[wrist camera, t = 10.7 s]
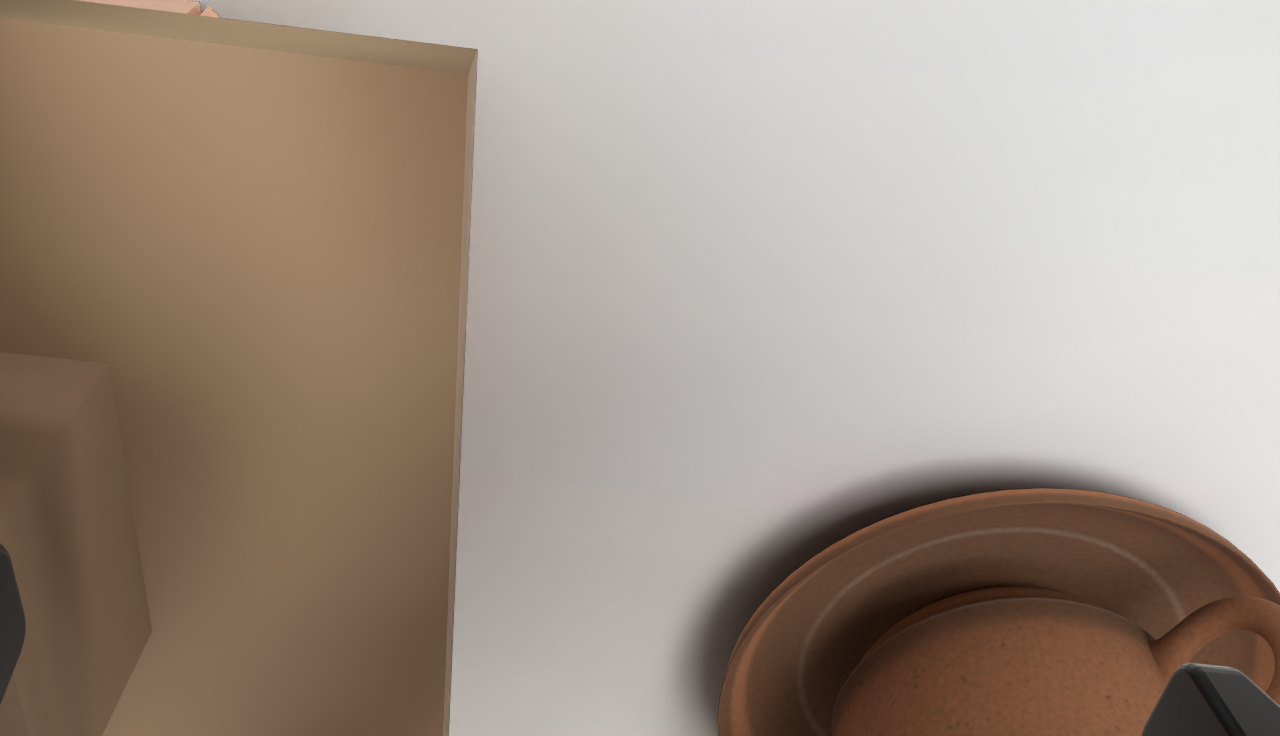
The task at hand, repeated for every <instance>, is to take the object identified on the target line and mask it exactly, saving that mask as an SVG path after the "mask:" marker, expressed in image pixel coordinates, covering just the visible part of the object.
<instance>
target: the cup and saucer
mask: <svg viewBox="0 0 1280 736" xmlns="http://www.w3.org/2000/svg"><path fill="white" fill-rule="evenodd" d="M1186 663H1197V664H1207V665H1217V666H1226V667H1231V668H1234V669H1237V670H1238V671H1240V672H1242V673H1243V674H1244V675H1246V676H1247V677H1248V678H1249V679H1250V680H1251V681H1253V682H1254V683H1255V684H1256V685H1257V686H1258V687H1259V688H1260V689H1261V690H1263V691H1264V692H1265V693H1266V694H1267V695H1268V696H1269V697H1270V698H1271V699H1272V700H1274V701H1275V702H1276V703H1277V704H1278V705H1279V706H1280V593H1279V591H1278V590H1277V588H1276V587H1275V586H1274V584H1273V583H1272V582H1271V581H1270V579H1269V578H1268V577H1267V576H1266V575H1265V574H1264V573H1263V572H1262V571H1261V570H1260V569H1259V568H1258V566H1257V565H1256V564H1255V563H1254V562H1253V561H1252V560H1251V559H1250V558H1248V557H1247V556H1246V555H1245V554H1244V553H1243V552H1241V551H1240V550H1239V549H1238V548H1236V547H1235V546H1234V545H1233V544H1232V543H1230V542H1229V541H1228V540H1226V539H1225V538H1223V537H1222V536H1220V535H1219V534H1217V533H1216V532H1214V531H1212V530H1211V529H1209V528H1208V527H1206V526H1204V525H1202V524H1200V523H1198V522H1196V521H1194V520H1192V519H1190V518H1188V517H1186V516H1184V515H1182V514H1179V513H1177V512H1174V511H1171V510H1169V509H1166V508H1164V507H1161V506H1158V505H1155V504H1151V503H1148V502H1144V501H1141V500H1137V499H1133V498H1130V497H1124V496H1119V495H1113V494H1108V493H1102V492H1094V491H1084V490H1074V489H1047V488H1035V489H1016V490H1003V491H995V492H987V493H979V494H973V495H968V496H962V497H957V498H952V499H947V500H943V501H939V502H936V503H932V504H928V505H925V506H921V507H917V508H914V509H911V510H908V511H906V512H903V513H900V514H897V515H894V516H891V517H889V518H886V519H884V520H881V521H879V522H877V523H874V524H872V525H870V526H868V527H865V528H863V529H861V530H859V531H857V532H855V533H853V534H851V535H849V536H847V537H846V538H844V539H842V540H840V541H838V542H836V543H834V544H833V545H831V546H830V547H828V548H827V549H825V550H824V551H822V552H820V553H819V554H817V555H816V556H814V557H813V558H811V559H810V560H809V561H807V562H806V563H805V564H803V565H802V566H801V567H800V568H798V569H797V570H796V571H794V572H793V573H792V574H791V575H789V576H788V577H787V578H786V579H785V580H784V581H783V582H782V583H781V584H780V585H779V586H778V587H777V588H776V589H775V590H774V591H772V593H771V594H770V595H769V596H768V597H767V598H766V599H765V601H764V602H763V603H762V604H761V605H760V606H759V608H758V609H757V610H756V611H755V613H754V614H753V616H752V617H751V619H750V620H749V621H748V623H747V624H746V626H745V627H744V629H743V631H742V633H741V635H740V637H739V638H738V640H737V642H736V644H735V646H734V648H733V651H732V653H731V656H730V659H729V661H728V664H727V667H726V670H725V674H724V679H723V683H722V687H721V692H720V697H719V707H718V732H719V736H1141V735H1142V731H1143V728H1144V726H1145V724H1146V722H1147V720H1148V718H1149V716H1150V715H1151V713H1152V711H1153V709H1154V707H1155V705H1156V704H1157V702H1158V700H1159V698H1160V696H1161V694H1162V693H1163V691H1164V689H1165V687H1166V685H1167V683H1168V682H1169V680H1170V678H1171V676H1172V674H1173V673H1174V671H1175V670H1176V669H1177V668H1179V667H1180V666H1182V665H1183V664H1186Z"/></svg>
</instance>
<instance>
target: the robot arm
mask: <svg viewBox="0 0 1280 736" xmlns="http://www.w3.org/2000/svg"><path fill="white" fill-rule="evenodd" d="M25 633H26V619H25V613H24V609H23V605H22V601H21V597H20V593H19V589H18V585H17V581H16V577H15V573H14V569H13V565H12V561H11V558H10V555H9V552H8V551H7V549H6V548H5V547H4V546H3V545H2V544H0V706H1V703H2V701H3V698H4V695H5V693H6V690H7V687H8V685H9V682H10V680H11V677H12V674H13V672H14V669H15V667H16V664H17V661H18V659H19V656H20V654H21V651H22V648H23V644H24V640H25ZM1141 736H1280V706H1279V705H1278V704H1277V703H1276V702H1275V701H1274V700H1272V699H1271V698H1270V697H1269V696H1268V695H1267V694H1266V693H1265V692H1264V691H1263V690H1261V689H1260V688H1259V687H1258V686H1257V685H1256V684H1255V683H1254V682H1253V681H1251V680H1250V679H1249V678H1248V677H1247V676H1246V675H1244V674H1243V673H1242V672H1240V671H1238V670H1237V669H1234V668H1231V667H1226V666H1217V665H1207V664H1197V663H1186V664H1183V665H1182V666H1180V667H1179V668H1177V669H1176V670H1175V671H1174V673H1173V674H1172V676H1171V678H1170V680H1169V682H1168V683H1167V685H1166V687H1165V689H1164V691H1163V693H1162V694H1161V696H1160V698H1159V700H1158V702H1157V704H1156V705H1155V707H1154V709H1153V711H1152V713H1151V715H1150V716H1149V718H1148V720H1147V722H1146V724H1145V726H1144V728H1143V731H1142V735H1141Z"/></svg>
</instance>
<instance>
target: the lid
mask: <svg viewBox="0 0 1280 736" xmlns="http://www.w3.org/2000/svg"><path fill="white" fill-rule="evenodd" d="M477 54H478V49H471V48H463V47H455V46H447V45H438V44H430V43H422V42H414V41H406V40H397V39H389V38H381V37H373V36H365V35H356V34H348V33H340V32H332V31H324V30H315V29H307V28H299V27H291V26H282V25H274V24H266V23H258V22H250V21H241V20H233V19H225V18H217V17H209V16H200V15H192V14H184V13H176V12H168V11H159V10H151V9H143V8H135V7H126V6H118V5H110V4H102V3H94V2H85V1H77V0H0V544H2V545H3V546H4V547H5V548H6V549H7V551H8V552H9V555H10V558H11V561H12V565H13V569H14V573H15V577H16V581H17V585H18V589H19V593H20V597H21V601H22V605H23V609H24V613H25V619H26V633H25V640H24V644H23V648H22V651H21V654H20V656H19V659H18V661H17V664H16V667H15V669H14V672H13V674H12V677H11V680H10V682H9V685H8V687H7V690H6V693H5V695H4V698H3V701H2V703H1V706H0V736H449V719H450V695H451V671H452V647H453V624H454V600H455V576H456V553H457V529H458V505H459V481H460V458H461V434H462V410H463V386H464V363H465V339H466V315H467V292H468V268H469V244H470V220H471V197H472V173H473V149H474V125H475V102H476V78H477Z"/></svg>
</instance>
